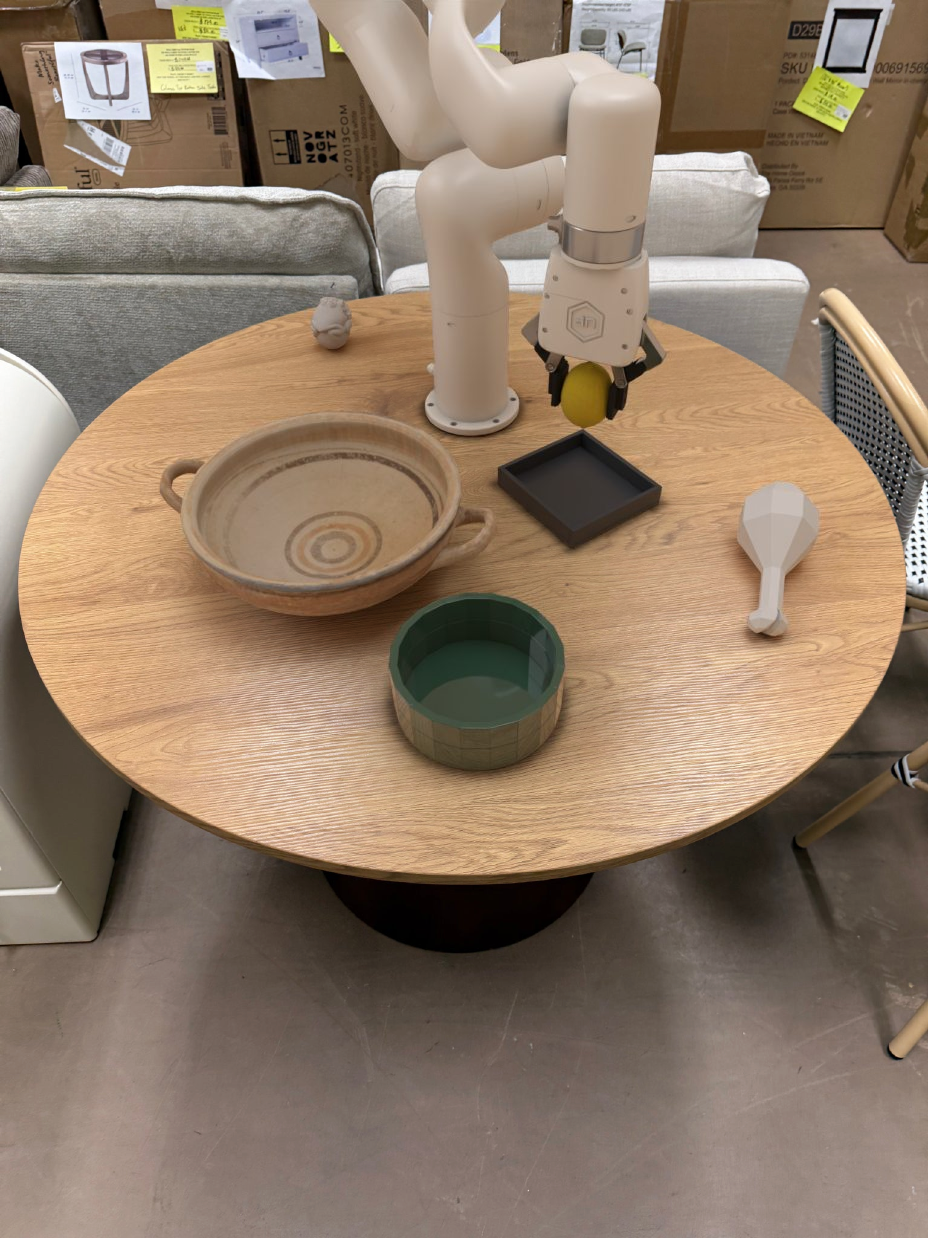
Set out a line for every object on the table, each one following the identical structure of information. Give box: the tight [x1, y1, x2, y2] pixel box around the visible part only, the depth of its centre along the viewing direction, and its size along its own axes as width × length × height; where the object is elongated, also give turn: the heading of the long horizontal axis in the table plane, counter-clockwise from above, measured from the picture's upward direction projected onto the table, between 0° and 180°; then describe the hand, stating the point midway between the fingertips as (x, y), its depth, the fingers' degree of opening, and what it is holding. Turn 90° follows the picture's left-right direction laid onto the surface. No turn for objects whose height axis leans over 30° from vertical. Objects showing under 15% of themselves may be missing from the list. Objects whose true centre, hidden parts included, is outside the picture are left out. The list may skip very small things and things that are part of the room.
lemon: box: [560, 361, 613, 430], centre depth 87 cm, size 6×6×8 cm
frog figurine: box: [310, 296, 353, 350], centre depth 119 cm, size 6×7×7 cm
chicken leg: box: [736, 480, 820, 637], centre depth 84 cm, size 8×18×8 cm, turn 165°
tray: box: [496, 428, 663, 550], centre depth 96 cm, size 14×13×3 cm
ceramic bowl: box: [159, 410, 498, 617], centre depth 87 cm, size 37×29×10 cm
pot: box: [388, 592, 566, 771], centre depth 75 cm, size 16×16×6 cm
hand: (586, 405), depth 88 cm, fingers closed on lemon, 5 cm apart
